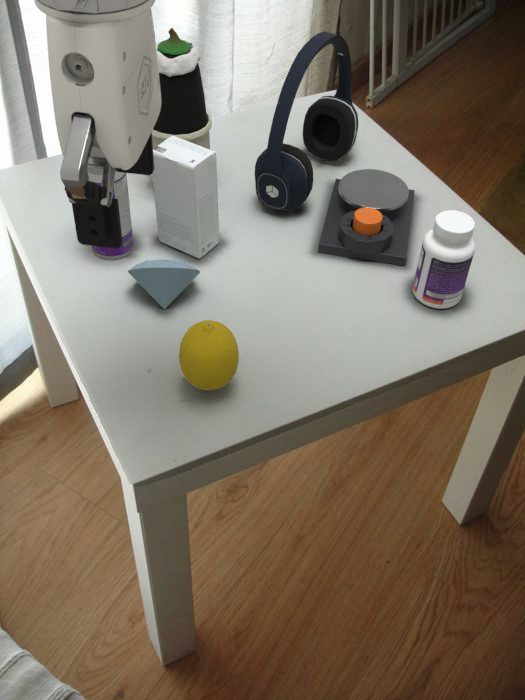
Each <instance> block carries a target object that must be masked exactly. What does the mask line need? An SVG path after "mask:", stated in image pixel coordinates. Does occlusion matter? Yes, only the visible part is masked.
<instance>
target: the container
mask: <svg viewBox="0 0 525 700" xmlns="http://www.w3.org/2000/svg"><path fill="white" fill-rule="evenodd" d="M90 156H92V157H101V158H106V157H105V155H104V154H103V152H102V150H101V149H93V148H92V149H91V153H90ZM87 172H88V175H89V181H90V182H95V183H96V184H97V185H99V186H100V187H101V184H102V174H103V169H102V168H94V167H87ZM129 196H130V195H129V185H128V173H123V172H117V171H116V170H115V178H114V188H113V198H115V199H118V204H119V214H120V223H121V232H122V244H121V246H120V247H119V248H108V247H99V246H91V251H92V253H93V254H94V255H95V256H96V257H98V258H100V259H103V260H108V261H109V260H110V261H115V260H120V259H122V258H123V259H124V258H125V257H127V256H129V255H130V254H131V253H132V251H133V250H134V238H133V237H134V236H133V227H132V215H131V207H130V206H131V204H130V197H129Z"/></svg>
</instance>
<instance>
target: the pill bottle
mask: <svg viewBox="0 0 525 700" xmlns="http://www.w3.org/2000/svg"><path fill="white" fill-rule="evenodd" d="M475 225H476V223H475V220H474V219H473V217H472V216H470V215H469V214H467V213H465V212H464V211H460V210H453V209H449V210H448V209H447V210H443V211H441V212H439V213H437V214H436V216H435V219H434V223H433V226H432V228H431V229H429V230H428V231H427V232H426V233H425V234H424V236H423V239H422V243H421V248H420V252H419V257H418V261H417V266H416V269H415V275H414V279H413V284H412V293H413V295H414V297H415V298H416V300H418V301H419V303H421V304H423V305H425V306H427V307H429V308H433V309H438V310H439V309H449V308H452V307H454V306H456V305H457V304H458V303H460V301H461V300H462V297H463V294H464V290H465V287H466V282H467V280H468V276H469V272H470V269H471V265H472V263H473V259H474V256H475V252H476V243H475V240H474V238H473V234H474V231H475Z"/></svg>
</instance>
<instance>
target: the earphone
mask: <svg viewBox="0 0 525 700" xmlns="http://www.w3.org/2000/svg"><path fill="white" fill-rule="evenodd" d="M328 45H332V47H333V48H334V50H335V53H336V57H337V65H338V66H337V67H338V68H337V69H338V78H337V87H336V90H335V94H334V95H323V96H321V97H320V98H318V99H317V100H316V101H314V102H313V103H312V104H311V105H310V106H308V107H307V108H308V109H307V111H306V112H305V114H304V120H303V123H302V124H303V125H302V141H303V145H304V146H305V148H306V150H307V152H308V153H309V154H311V155H312V156H313V157H315V158H318V159H320V160H324V161H328V162H335V161H339V160H341V159H342V158H344V157H345V156H346V155H348V154H349V153H350V152H351V151H352V149H353V148H354V145H355V143H356V139H357V137H358V132H359V131H358V130H359V115H358V111H357V110H356V108H355V106H354V104H353V99H352V72H353V71H352V58H351V51H350V48H349V44H348V43H347V41H346V39H345V38H344V37H343V36H342V35H340V34H336V33H332V32H328V31H325V30H322V31H321V32H317V34H315V35H313V36H312V37H311V38H310V39H309V40H308V41H307V42H305V44H304V45H303V46H302V47H301V49H299V51H298V53H297V54H296V56H295V57H294V60H293V61H292V63H291V65H290V68H289V70H288V72H287V74H286V77H285V79H284V81H283V84H282V87H281V89H280V93H279V95H278V99H277V103H276V107H275V110H274V113H273V117H272V121H271V125H270V130H269V135H268V141H267V146H266V148H265V149H264V150H263V151H262V152H261V154H259V155H258V156H257V158H256V161H255V164H254V181H255V184H254V185H255V193H256V196H257V199H258V201H259V202H260V203H261V204H262V205H263V206H265V207H266V208H269V209H271V210H274V211H277V212H279V211H281V212H282V211H285V210H286V211H296V210H298V209H300V208H301V207H302V206H303V205H304V203H305V202H306V201H307V199H308V198H309V196H310V194H311V192H312V191H313V188H314V187H313V185H314V167H313V164H312V160H311V159H310V157H309V156H308V154H307V153H306V152H305V151H304V150H302V149H301V148H299V147H297V146H294V145H291V144H288V143H285V142H284V140H285V135H286V131H287V127H288V122H289V118H290V115H291V112H292V108H293V105H294V102H295V99H296V96H297V92H298V90H299V88H300V86H301V83H302V81H303V79H304V76H305V74H306V72H307V70H308V68H309V67H310V64H311V63H312V61H313V60H314V59H315V58H316V56H317V55H318V54H319V53H320V52H321V51H322V50H324V48H325V47H327V46H328Z"/></svg>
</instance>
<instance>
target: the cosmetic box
mask: <svg viewBox="0 0 525 700" xmlns="http://www.w3.org/2000/svg"><path fill="white" fill-rule="evenodd" d="M153 158H154V171H153V173H152V174H151V180H152V187H153V197H154V205H155V207H154V208H155V215H156V224H157V232H158V241H159V242H160V243H162V244H165V245H168V246H170V247H172V248H175V249H177V250H178V251H181V252H183V253H185V254H188V255H190V256H192V257H194V258H196V259H201V258H202V257H204V256H205V255H206V254H207V253H209V252H210V251H211V250H213V249H214V247H216V246H217V245H218V244H219V242H220V224H219V223H220V221H219V197H218V193H219V192H218V170H217V152H216V151H215V150H212V149H210V150H209V149H207V148H204V147H201V146H199V145H196V144H193V143H191V142H188V141H186V140H183V139H180V138H178V137H175V136H171V137H169V138H168V139H166V140H165V141H163V142H162V143H161V144H159V145H158V146H156V147H155V148H154V149H153Z"/></svg>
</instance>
